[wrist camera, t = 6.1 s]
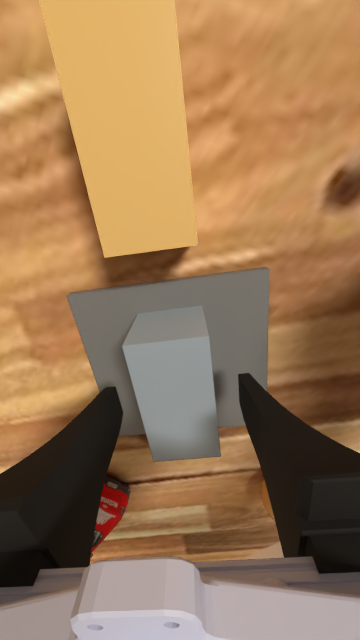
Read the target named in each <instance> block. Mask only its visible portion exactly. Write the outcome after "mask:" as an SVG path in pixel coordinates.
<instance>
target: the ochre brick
mask: <svg viewBox="0 0 360 640" xmlns="http://www.w3.org/2000/svg"><path fill="white" fill-rule="evenodd" d="M39 3H40V7H41V11H42V15H43V19H44V22H45V26H46V30H47V34H48V38H49V42H50V46H51V50H52V54H53V58H54V62H55V66H56V70H57V74H58V77H59V81H60V85H61V89H62V93H63V97H64V101H65V105H66V109H67V113H68V117H69V121H70V125H71V128H72V132H73V136H74V140H75V144H76V148H77V152H78V156H79V160H80V164H81V168H82V172H83V176H84V179H85V183H86V187H87V191H88V195H89V199H90V203H91V207H92V211H93V215H94V219H95V223H96V227H97V230H98V234H99V238H100V242H101V246H102V250H103V254H104V258H107V257H114V256H122V255H129V254H137V253H144V252H151V251H159V250H166V249H174V248H181V247H188V246H196V245H198V241H197V231H196V220H195V210H194V199H193V189H192V178H191V168H190V157H189V147H188V136H187V126H186V115H185V105H184V95H183V84H182V74H181V63H180V53H179V42H178V32H177V21H176V11H175V0H39Z"/></svg>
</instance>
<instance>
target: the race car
mask: <svg viewBox="0 0 360 640" xmlns="http://www.w3.org/2000/svg"><path fill="white" fill-rule="evenodd" d="M129 494H130V488H129V487H127V484H124V483H123V484H121V482H119V481H117V480H114V479H112V478H110V477H107V476H106V478H105V482H104V487H103V491H102V496H101V501H100V506H99V511H98V516H97V521H96V527H95V533H94V538H93V544H92V551H91V557H92V556H93V554H92V552H93V551H94V550H95V549H96V548H97V546H98V545H99V544H100V543H101V542H102V541H103V540H104V539H105V537H106V536H107V535H108V534H109V533H110V532H111V530H112V529H113V528H114V527H115V526H116V525H117V524H118V523H119V521H120V520H121V518H122V516H123V514H124V512H125V509H126V507H127V504H128V499H129Z"/></svg>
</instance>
